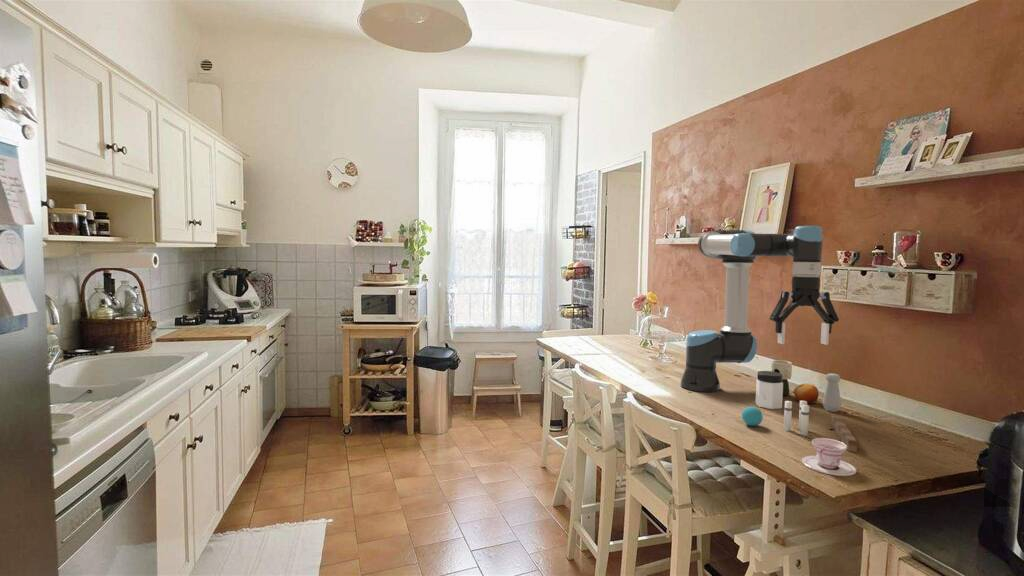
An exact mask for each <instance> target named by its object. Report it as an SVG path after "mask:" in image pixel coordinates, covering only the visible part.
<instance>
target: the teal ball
mask: <svg viewBox="0 0 1024 576" xmlns="http://www.w3.org/2000/svg"><path fill="white" fill-rule="evenodd" d="M741 417H742V420H743V422H744V423H745V424H746V425H748V426H749V427H754V426H755V427H756V426H759V425H760V424H761V423H762V421H763V419H764V418H763V417H764V416H763V413H762V411H761V410H760V409H759V408H757V407H755V406H748V407H745V408H744V409H743V411H742V413H741Z"/></svg>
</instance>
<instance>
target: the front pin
mask: <svg viewBox="0 0 1024 576" xmlns="http://www.w3.org/2000/svg"><path fill="white" fill-rule="evenodd" d="M783 413H784V414H783V430H784V431H786V432H791V431H792V417H793V416H792V413H793V402H792V401H791V400H784V411H783Z"/></svg>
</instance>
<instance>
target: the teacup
mask: <svg viewBox="0 0 1024 576" xmlns="http://www.w3.org/2000/svg"><path fill="white" fill-rule="evenodd" d="M811 444H812V446H813V447H814V450H815V453H816V455H808V456H807V455H806V456H804V457H803V458H801V462H802V464H803V465H804V466H805V467H807V468H808V469H810V470H812V471H815V472H818V473H822V474H826V475H831V476H838V477H851V476H853V475H856V473H857V472H858V471H857V469H856V467H855V466H854V465H852V464H850V463H849V462H847V461H844V460H841V459H842V458H841V457H842V456H843V455H844V453H845V452H846V451H848V450H847V445H846V444H844V443H843V442H842V441H839V440H838V439H832V438H827V437H815V438H813V439H812V440H811ZM819 464H820V465H819ZM837 467H838V469H836V468H837Z"/></svg>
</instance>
